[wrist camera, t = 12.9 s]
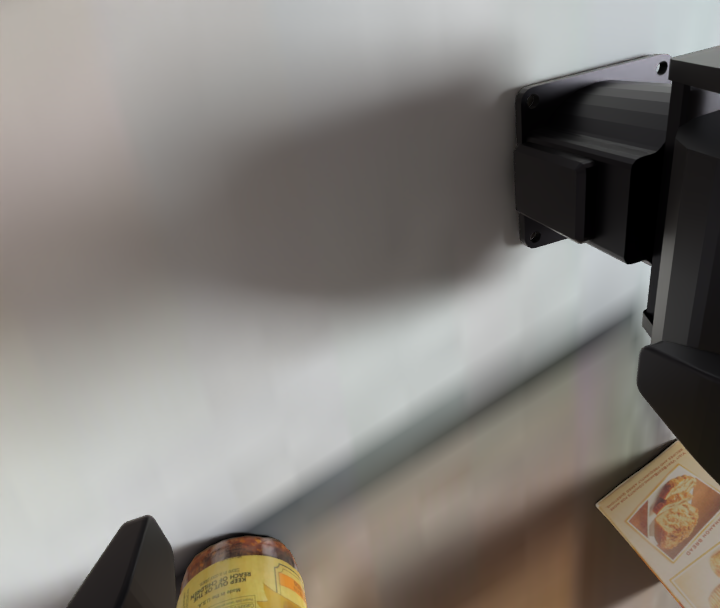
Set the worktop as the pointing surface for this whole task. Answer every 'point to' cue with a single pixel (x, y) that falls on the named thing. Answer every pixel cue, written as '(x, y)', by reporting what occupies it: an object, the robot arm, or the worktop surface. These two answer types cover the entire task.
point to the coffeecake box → (672, 524)
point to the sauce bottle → (243, 576)
